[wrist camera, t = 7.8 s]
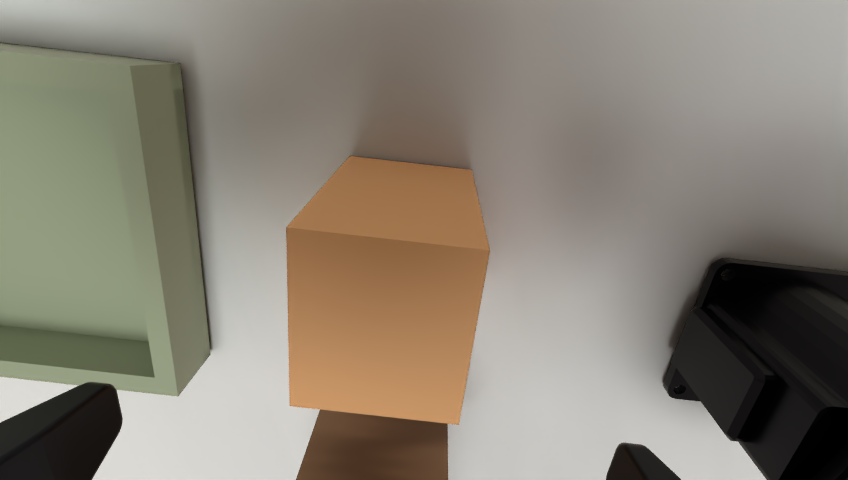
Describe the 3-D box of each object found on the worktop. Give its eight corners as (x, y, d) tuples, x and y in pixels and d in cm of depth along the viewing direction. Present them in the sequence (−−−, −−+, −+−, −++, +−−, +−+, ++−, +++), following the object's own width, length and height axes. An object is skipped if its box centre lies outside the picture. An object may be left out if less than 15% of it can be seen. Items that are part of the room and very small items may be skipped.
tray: (180, 63, 15) (130, 65, 13) (210, 354, 20) (177, 396, 17) (-177, 22, 15) (-296, 17, 13) (-61, 323, 20) (-132, 361, 17)
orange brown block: (471, 169, 16) (490, 250, 10) (453, 290, 18) (458, 424, 12) (349, 156, 16) (286, 227, 10) (345, 278, 18) (289, 405, 12)
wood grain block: (447, 380, 20) (448, 548, 13) (442, 408, 20) (442, 581, 14) (334, 368, 20) (279, 529, 13) (333, 396, 20) (280, 563, 14)
